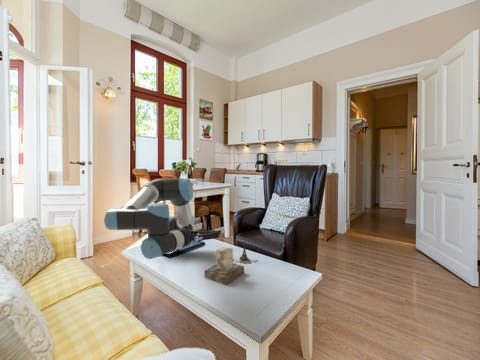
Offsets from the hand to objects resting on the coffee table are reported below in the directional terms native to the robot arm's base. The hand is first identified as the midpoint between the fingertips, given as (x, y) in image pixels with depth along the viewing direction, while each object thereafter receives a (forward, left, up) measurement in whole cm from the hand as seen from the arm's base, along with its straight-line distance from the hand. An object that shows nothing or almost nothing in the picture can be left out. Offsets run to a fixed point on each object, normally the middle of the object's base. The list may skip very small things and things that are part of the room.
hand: (212, 227), depth 114 cm
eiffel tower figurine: (-2, +34, -29) cm, 44 cm away
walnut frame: (0, +11, -28) cm, 30 cm away
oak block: (0, +11, -24) cm, 26 cm away
